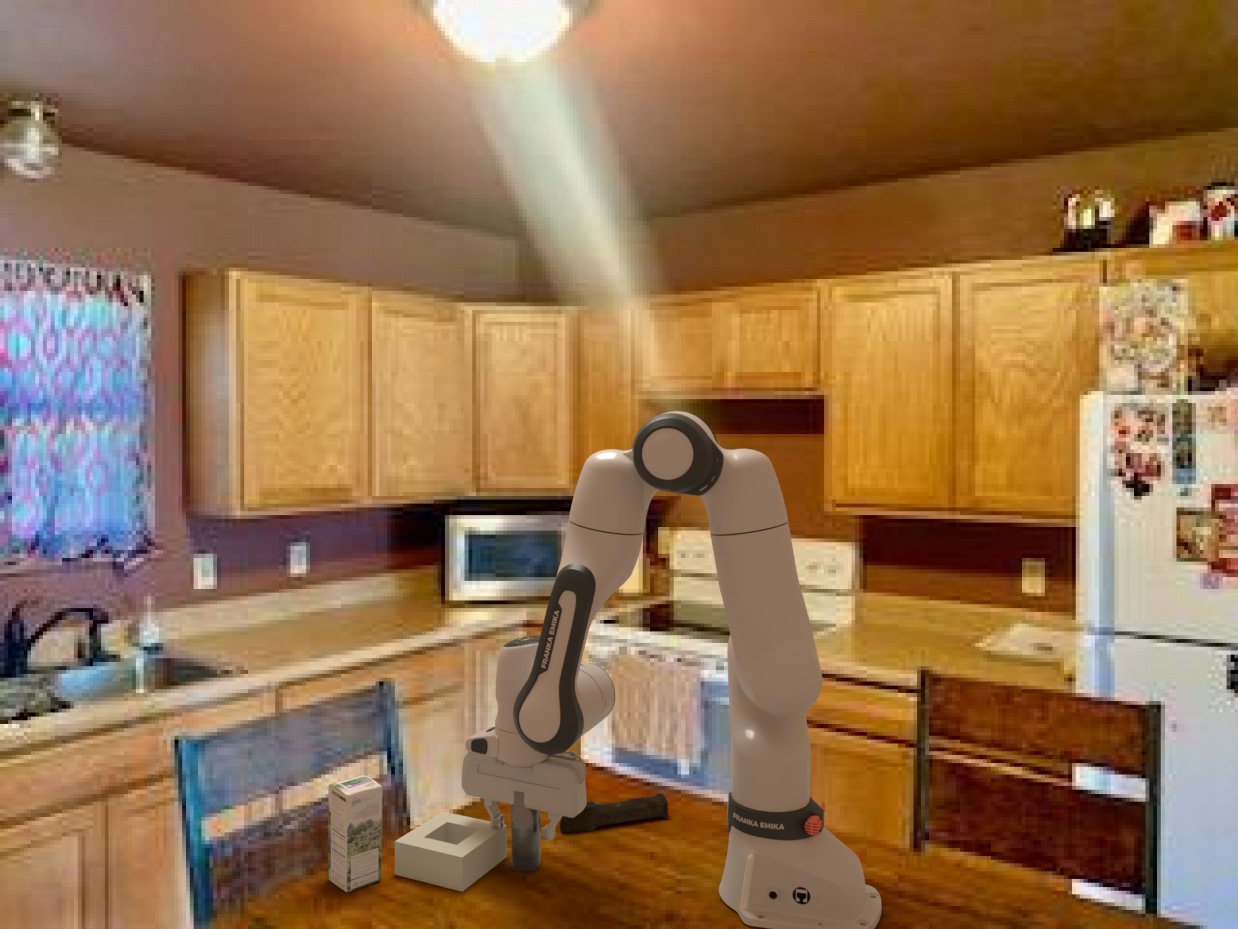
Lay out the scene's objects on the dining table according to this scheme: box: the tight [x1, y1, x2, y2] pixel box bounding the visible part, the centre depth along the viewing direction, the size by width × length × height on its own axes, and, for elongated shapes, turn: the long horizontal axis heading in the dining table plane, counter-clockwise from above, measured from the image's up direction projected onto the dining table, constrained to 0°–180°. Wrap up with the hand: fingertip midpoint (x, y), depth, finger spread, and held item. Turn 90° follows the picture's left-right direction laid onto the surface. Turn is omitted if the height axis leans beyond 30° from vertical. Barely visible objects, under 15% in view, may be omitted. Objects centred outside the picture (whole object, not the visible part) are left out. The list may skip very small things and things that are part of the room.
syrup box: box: [327, 774, 383, 894], centre depth 135 cm, size 6×6×14 cm
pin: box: [510, 791, 541, 873], centre depth 140 cm, size 4×4×12 cm
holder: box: [394, 811, 508, 893], centre depth 140 cm, size 12×12×5 cm
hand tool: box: [559, 793, 669, 833], centre depth 156 cm, size 19×4×5 cm, turn 110°
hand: (522, 833), depth 140 cm, fingers open, 7 cm apart
